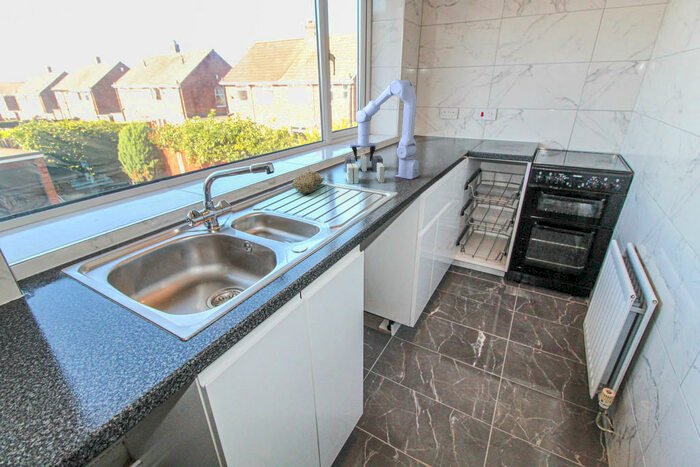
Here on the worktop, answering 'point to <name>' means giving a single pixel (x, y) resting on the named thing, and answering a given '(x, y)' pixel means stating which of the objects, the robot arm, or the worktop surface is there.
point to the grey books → (373, 163)
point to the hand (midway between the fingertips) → (363, 161)
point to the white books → (354, 173)
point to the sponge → (307, 182)
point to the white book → (363, 162)
